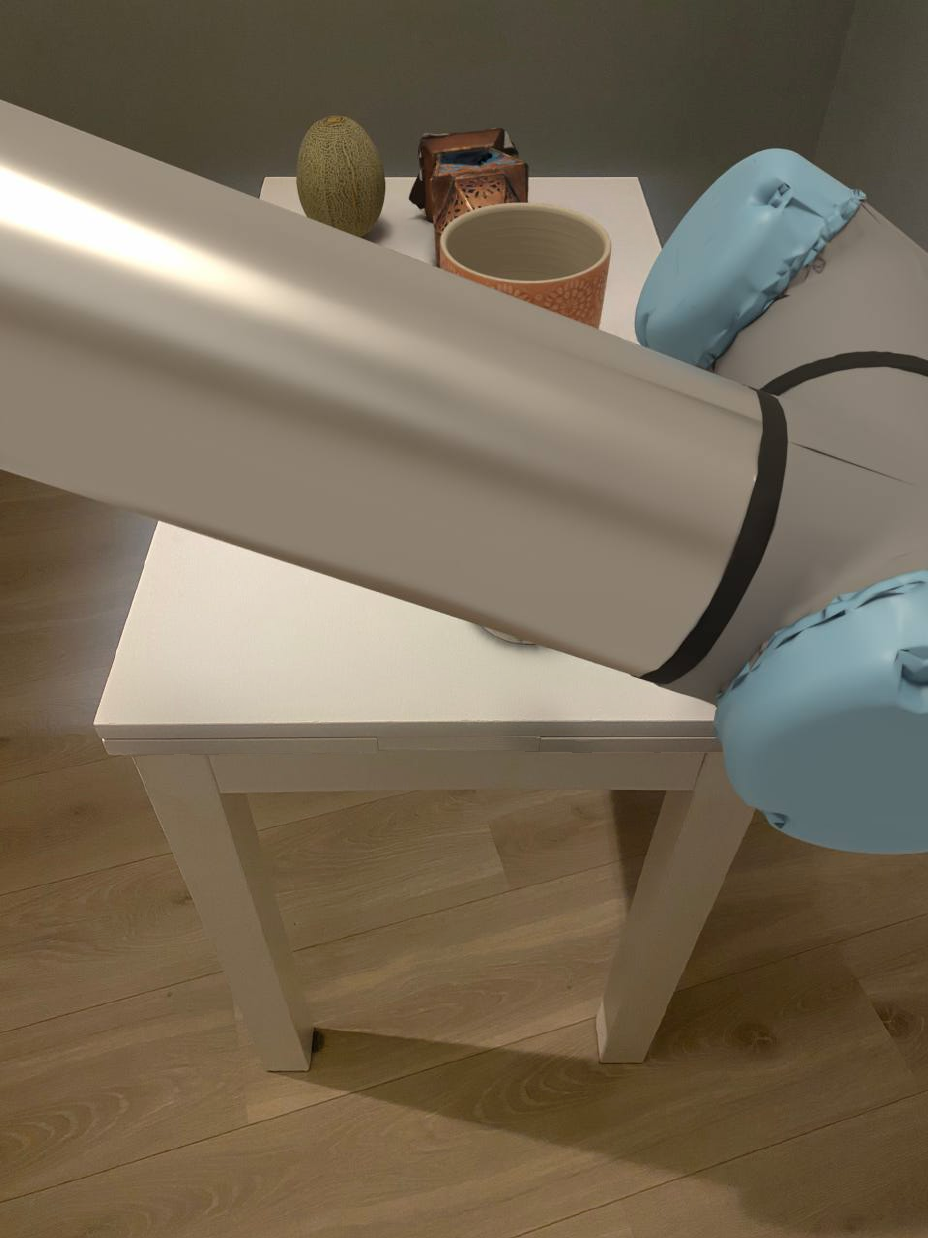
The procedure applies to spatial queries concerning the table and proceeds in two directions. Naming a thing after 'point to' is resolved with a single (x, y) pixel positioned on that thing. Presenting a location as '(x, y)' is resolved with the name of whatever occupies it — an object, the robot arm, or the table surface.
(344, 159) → the fruit
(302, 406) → the robot arm
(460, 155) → the lantern
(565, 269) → the planter
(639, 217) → the table surface
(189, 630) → the table surface
